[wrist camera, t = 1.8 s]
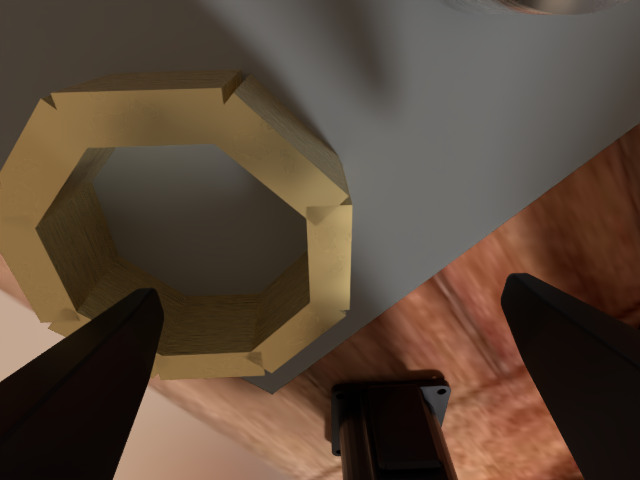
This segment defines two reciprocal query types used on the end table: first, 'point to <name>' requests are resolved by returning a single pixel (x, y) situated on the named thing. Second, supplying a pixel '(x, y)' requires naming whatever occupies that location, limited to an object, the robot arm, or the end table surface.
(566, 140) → the mat
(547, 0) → the silver calibration weight
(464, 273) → the end table surface
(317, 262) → the brass ring
